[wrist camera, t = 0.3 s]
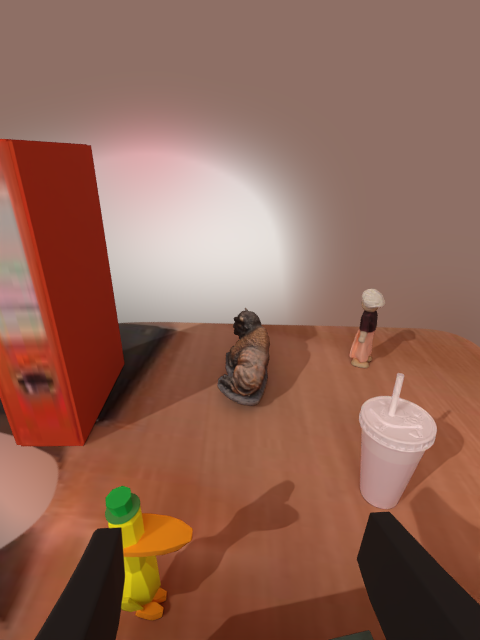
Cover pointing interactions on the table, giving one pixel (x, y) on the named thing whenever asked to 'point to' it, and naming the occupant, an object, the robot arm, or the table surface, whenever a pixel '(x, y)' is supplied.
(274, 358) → the table surface
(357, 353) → the grandmother figurine
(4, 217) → the file binder
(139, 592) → the toy figure
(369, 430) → the smoothie
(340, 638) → the cabinet
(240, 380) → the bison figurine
